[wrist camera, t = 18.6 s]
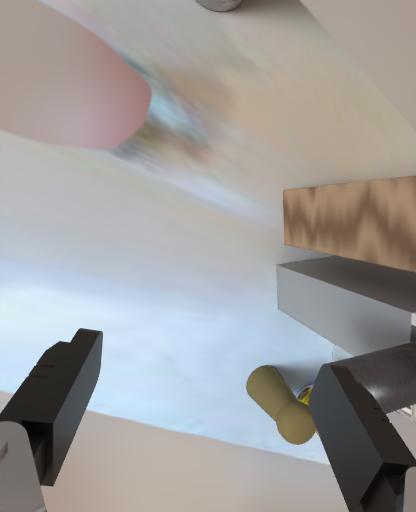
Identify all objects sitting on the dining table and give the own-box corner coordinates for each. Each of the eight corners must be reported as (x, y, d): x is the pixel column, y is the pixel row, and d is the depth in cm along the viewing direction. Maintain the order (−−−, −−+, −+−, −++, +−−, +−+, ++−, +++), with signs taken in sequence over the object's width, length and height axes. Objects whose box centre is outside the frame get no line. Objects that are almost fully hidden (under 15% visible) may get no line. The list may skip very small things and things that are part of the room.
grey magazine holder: (276, 264, 45) (429, 319, 23) (352, 253, 49) (547, 291, 27) (277, 308, 47) (424, 400, 24) (352, 294, 50) (537, 362, 28)
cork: (278, 360, 48) (323, 402, 38) (281, 394, 49) (325, 443, 39) (244, 371, 47) (280, 418, 36) (248, 405, 48) (284, 460, 37)
